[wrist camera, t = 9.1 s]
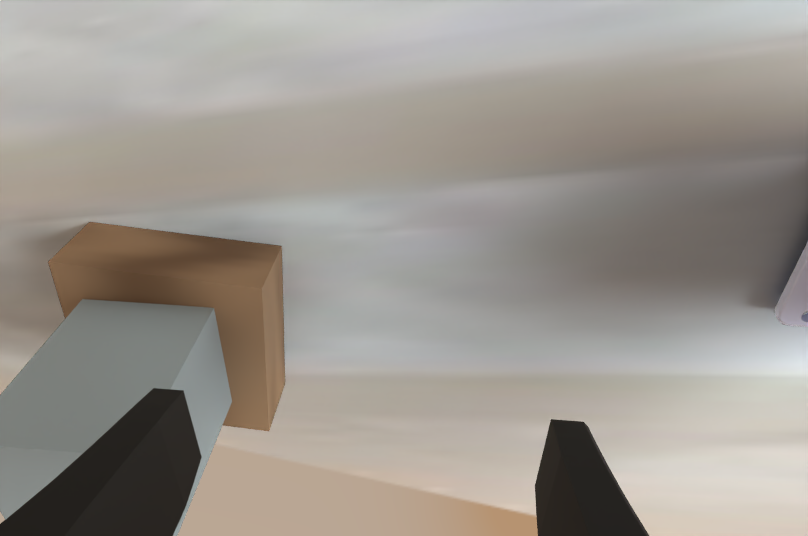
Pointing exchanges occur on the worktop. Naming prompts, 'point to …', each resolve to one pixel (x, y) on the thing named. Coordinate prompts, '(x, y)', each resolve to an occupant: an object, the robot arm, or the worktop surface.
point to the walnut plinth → (192, 298)
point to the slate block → (107, 387)
